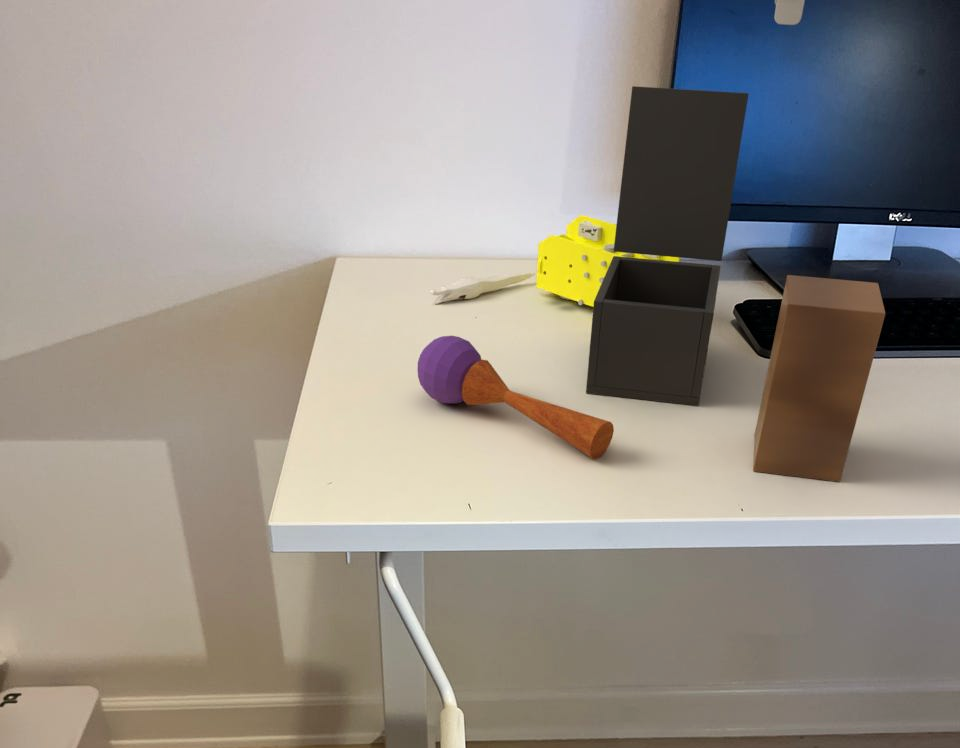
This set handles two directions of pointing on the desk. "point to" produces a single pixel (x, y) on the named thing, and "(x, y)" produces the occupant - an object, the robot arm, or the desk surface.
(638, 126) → the dark box lid
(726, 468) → the desk surface
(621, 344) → the dark open-top box
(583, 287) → the yellow toy chassis
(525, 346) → the desk surface
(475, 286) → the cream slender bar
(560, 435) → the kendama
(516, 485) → the desk surface
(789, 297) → the stand
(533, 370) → the desk surface
